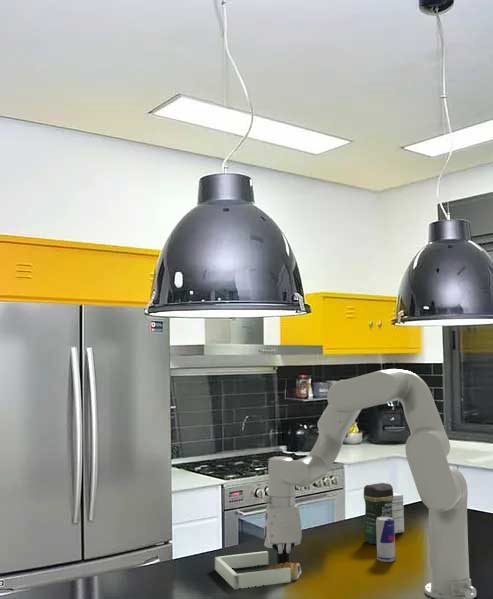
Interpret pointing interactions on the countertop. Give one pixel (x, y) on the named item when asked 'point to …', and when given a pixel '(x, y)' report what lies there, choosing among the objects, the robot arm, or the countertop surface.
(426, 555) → the countertop surface
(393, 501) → the supplement box
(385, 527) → the energy drink
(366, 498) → the coffee jar
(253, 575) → the c-shaped clip
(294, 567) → the pastry
